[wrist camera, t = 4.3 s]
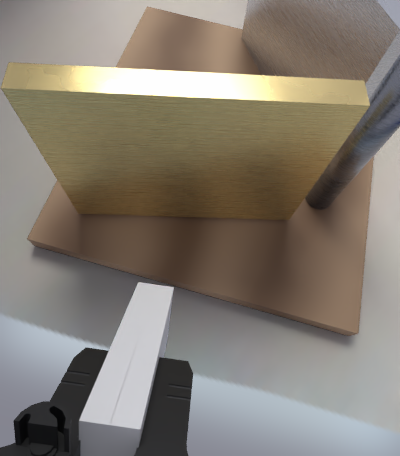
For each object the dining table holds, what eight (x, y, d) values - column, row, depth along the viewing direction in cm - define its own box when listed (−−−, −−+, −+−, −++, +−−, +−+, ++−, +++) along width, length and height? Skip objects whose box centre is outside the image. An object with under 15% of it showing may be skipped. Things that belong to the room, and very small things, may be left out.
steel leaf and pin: (345, 208, 24) (522, 29, 12) (306, 220, 24) (448, 47, 11) (255, 47, 30) (309, -187, 17) (221, 54, 29) (252, -182, 17)
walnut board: (34, 245, 22) (26, 238, 21) (148, 19, 30) (147, 6, 29) (348, 335, 21) (358, 333, 20) (374, 75, 29) (381, 63, 28)
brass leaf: (287, 202, 22) (364, 80, 13) (289, 220, 22) (370, 105, 13) (81, 196, 22) (8, 62, 12) (78, 213, 21) (0, 87, 12)
